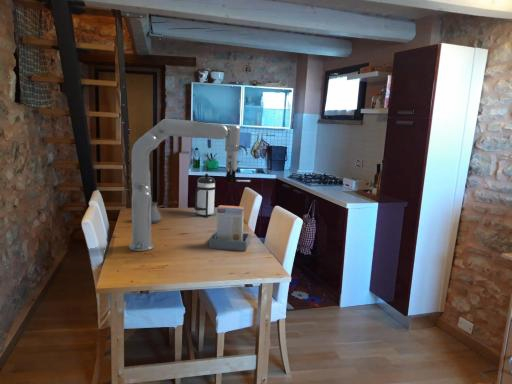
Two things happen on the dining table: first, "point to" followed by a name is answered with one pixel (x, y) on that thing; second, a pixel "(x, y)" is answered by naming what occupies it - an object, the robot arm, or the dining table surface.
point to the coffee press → (205, 196)
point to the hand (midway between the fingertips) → (230, 180)
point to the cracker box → (230, 223)
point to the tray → (229, 243)
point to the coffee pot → (156, 212)
